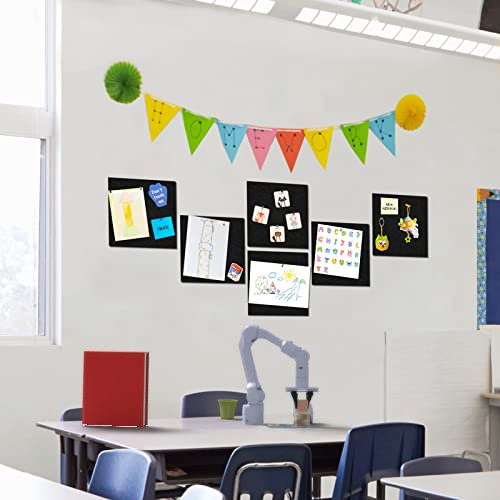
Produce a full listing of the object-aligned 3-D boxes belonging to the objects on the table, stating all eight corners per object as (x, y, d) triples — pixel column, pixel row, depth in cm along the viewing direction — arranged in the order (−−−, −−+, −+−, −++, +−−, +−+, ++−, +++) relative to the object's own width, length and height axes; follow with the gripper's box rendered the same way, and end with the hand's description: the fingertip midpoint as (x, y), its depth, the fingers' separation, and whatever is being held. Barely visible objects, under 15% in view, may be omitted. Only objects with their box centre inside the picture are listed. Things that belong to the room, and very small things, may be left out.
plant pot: (240, 418, 478) (241, 400, 478) (231, 420, 469) (232, 401, 470) (223, 417, 482) (223, 399, 482) (214, 419, 473) (214, 400, 474)
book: (147, 426, 437) (149, 351, 440) (143, 427, 429) (144, 352, 432) (86, 424, 441) (88, 350, 443) (80, 426, 433) (82, 351, 435)
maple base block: (296, 426, 441) (296, 414, 441) (293, 424, 447) (293, 413, 447) (309, 426, 442) (309, 414, 442) (307, 424, 447) (307, 413, 448)
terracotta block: (297, 411, 442) (298, 400, 442) (295, 410, 446) (295, 399, 447) (307, 411, 443) (308, 400, 443) (305, 410, 447) (305, 399, 448)
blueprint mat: (270, 429, 432) (270, 427, 432) (263, 425, 448) (263, 423, 448) (324, 428, 436) (324, 427, 436) (316, 425, 452) (316, 423, 452)
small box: (313, 412, 459) (311, 403, 450) (312, 424, 456) (311, 415, 448) (296, 411, 461) (293, 403, 452) (295, 423, 458) (293, 414, 449)
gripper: (287, 377, 441) (287, 409, 440) (320, 378, 443) (319, 409, 442) (284, 377, 448) (284, 407, 447) (316, 377, 450) (316, 407, 449)
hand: (301, 408), depth 445 cm, fingers closed on terracotta block, 4 cm apart
